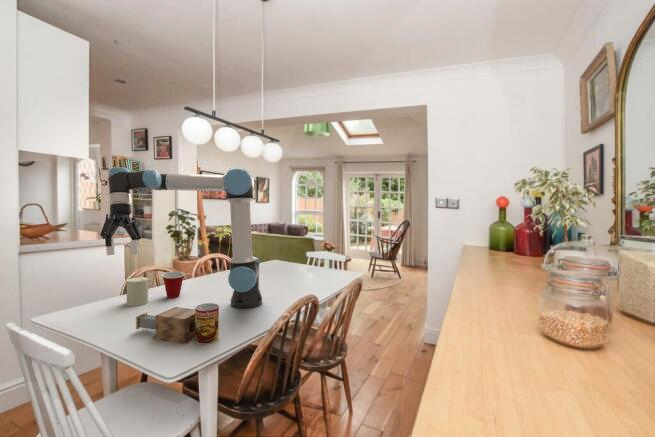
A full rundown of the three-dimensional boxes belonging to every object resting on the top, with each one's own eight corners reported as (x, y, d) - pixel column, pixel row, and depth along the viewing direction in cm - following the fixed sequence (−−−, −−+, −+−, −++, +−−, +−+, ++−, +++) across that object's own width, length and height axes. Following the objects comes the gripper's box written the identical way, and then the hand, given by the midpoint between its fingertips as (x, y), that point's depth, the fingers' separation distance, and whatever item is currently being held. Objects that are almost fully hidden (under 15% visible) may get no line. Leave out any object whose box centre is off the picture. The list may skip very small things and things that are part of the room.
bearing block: (153, 339, 113) (153, 315, 113) (174, 327, 124) (175, 306, 123) (184, 343, 110) (184, 319, 110) (204, 331, 121) (204, 309, 120)
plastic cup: (160, 300, 157) (160, 276, 157) (162, 294, 167) (162, 272, 167) (184, 298, 162) (184, 275, 161) (184, 293, 171) (185, 271, 171)
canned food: (192, 344, 109) (193, 310, 109) (197, 335, 117) (197, 303, 117) (216, 343, 111) (217, 309, 111) (219, 334, 119) (220, 302, 118)
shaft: (135, 329, 118) (135, 316, 118) (146, 324, 123) (146, 312, 123) (183, 335, 114) (183, 322, 113) (192, 330, 118) (192, 318, 118)
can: (138, 306, 147) (138, 281, 147) (121, 305, 149) (121, 279, 148) (152, 301, 156) (152, 277, 156) (136, 299, 158) (136, 275, 158)
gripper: (132, 210, 145) (135, 256, 142) (87, 200, 120) (89, 256, 117) (148, 207, 144) (151, 254, 141) (105, 197, 119) (108, 253, 117)
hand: (123, 255), depth 129 cm, fingers open, 13 cm apart
